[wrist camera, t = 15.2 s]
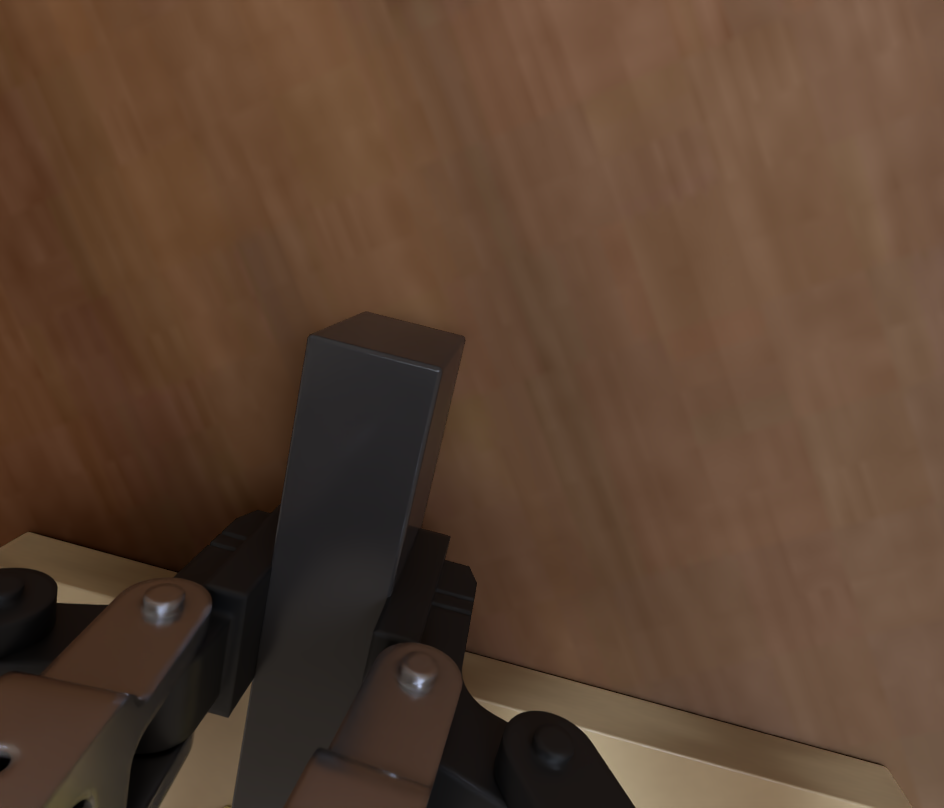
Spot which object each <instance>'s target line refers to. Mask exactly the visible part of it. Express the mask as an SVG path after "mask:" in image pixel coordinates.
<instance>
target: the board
mask: <svg viewBox="0 0 944 808" xmlns="http://www.w3.org/2000/svg"><path fill="white" fill-rule="evenodd" d="M0 568H29V569H34V570H38V571H41V572H44V573H46V574H48V575H49V576H51V577H52V578H53V579H54V580H55V582H56V583H57V587H58V591H57V603H72V604H94V605H109V604H110V603H111V602H112V601H113V600H114V599H115V598H116V597H117V596H118V595H119V594H120V593H121V592H122V591H123V590H125V589H126V588H128V587H130V586H132V585H134V584H136V583H139V582H142V581H145V580H149V579H154V578H165V577H172V578H173V577H174V576H175V575H176V574H177V572H173V571H169V570H166V569H162V568H158V567H155V566H151V565H148V564H144V563H140V562H137V561H133V560H129V559H126V558H122V557H118V556H115V555H111V554H107V553H104V552H100V551H96V550H93V549H89V548H85V547H82V546H78V545H75V544H71V543H67V542H64V541H60V540H56V539H53V538H49V537H45V536H42V535H38V534H34V533H31V532H26V533H25V534H23V535H21V536H20V537H18V538H16V539H14V540H13V541H11V542H9V543H7V544H6V545H4V546H2V547H1V548H0ZM462 676H463V681H464V683H465V686H466V688H467V690H468V691H469V693H470V694H471V695H472V697H473V698H474V699H475V700H476V701H477V702H478V703H479V704H480V705H481V706H483V707H484V708H485V709H486V710H488V711H490V712H491V713H493V714H494V715H496V716H498V717H500V718H501V719H503V720H505V721H507V722H509V721H510V720H511V719H512V718H513V717H514V716H516V715H518V714H520V713H522V712H526V711H545V712H549V713H553V714H556V715H558V716H561V717H563V718H565V719H567V720H568V721H570V722H572V723H573V724H575V725H576V726H577V727H578V728H580V729H581V730H582V731H583V732H584V733H585V734H586V735H587V737H588V738H589V739H590V740H591V742H592V743H593V745H594V746H595V748H596V749H597V751H598V752H599V754H600V755H601V757H602V758H603V760H604V761H605V763H606V764H607V766H608V767H609V769H610V770H611V772H612V773H613V775H614V776H615V778H616V779H617V781H618V782H619V784H620V785H621V786H622V788H623V789H624V791H625V792H626V794H627V795H628V797H629V798H630V800H631V801H632V803H633V804H634V806H635V807H636V808H913V807H912V805H911V804H910V802H909V801H908V799H907V798H906V796H905V795H904V793H903V792H902V790H901V789H900V787H899V786H898V784H897V783H896V781H895V780H894V778H893V777H892V775H891V774H890V772H889V770H888V769H887V768H886V767H885V766H881V765H878V764H874V763H870V762H867V761H863V760H859V759H856V758H852V757H848V756H845V755H841V754H837V753H834V752H830V751H827V750H823V749H819V748H816V747H812V746H808V745H805V744H801V743H797V742H794V741H790V740H786V739H783V738H779V737H775V736H772V735H768V734H764V733H761V732H757V731H754V730H750V729H746V728H743V727H739V726H735V725H732V724H728V723H724V722H721V721H717V720H713V719H710V718H706V717H702V716H699V715H695V714H691V713H688V712H684V711H681V710H677V709H673V708H670V707H666V706H662V705H659V704H655V703H651V702H648V701H644V700H640V699H637V698H633V697H629V696H626V695H622V694H618V693H615V692H611V691H607V690H604V689H600V688H597V687H593V686H589V685H586V684H582V683H578V682H575V681H571V680H567V679H564V678H560V677H556V676H553V675H549V674H545V673H542V672H538V671H534V670H531V669H527V668H524V667H520V666H516V665H513V664H509V663H505V662H502V661H498V660H494V659H491V658H487V657H483V656H480V655H476V654H472V653H469V652H465V655H464V660H463V666H462ZM251 683H252V682H251ZM251 683H250V685H249V686H248V688H247V690H246V691H245V693H244V694H243V696H242V697H241V699H240V700H239V702H238V704H237V705H236V707H235V708H234V710H233V711H232V713H231V714H230V716H229V718H226V717H223V716H219V715H216V714H212V713H208V712H207V714H206V715H205V717H204V718H203V720H202V721H201V722H200V724H199V725H198V727H197V728H196V730H195V734H194V741H193V746H192V749H191V751H190V753H189V755H188V757H187V759H186V760H185V762H184V764H183V766H182V768H181V769H180V771H179V773H178V775H177V777H176V778H175V780H174V782H173V784H172V786H171V787H170V789H169V791H168V793H167V795H166V796H165V798H164V800H163V802H162V803H161V805H160V807H159V808H224V807H225V806H230V807H232V800H233V794H234V788H235V782H236V776H237V770H238V764H239V757H240V751H241V745H242V739H243V733H244V727H245V720H246V714H247V708H248V702H249V696H250V690H251Z"/></svg>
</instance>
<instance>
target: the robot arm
mask: <svg viewBox="0 0 944 808" xmlns="http://www.w3.org/2000/svg"><path fill="white" fill-rule="evenodd" d="M280 505H281V503H280V504H279V505H278V507H277V508H276V509H275V510H274V511H273V512H272V513H268V512H264V511H260V510H256V511H254V512H251V513H249V514H246V515H244V516H241V517H239V518H236V519H235V520H234V521H233V522H232V523H231V524H230V525H229V526H228V527H227V528H225V529H224V530H223V531H222V534H219V535H218V536H217V537H216V538H215V539H214V540H213V541H212V542H211V544H210V545H207V546H206V547H205V548H204V549H203V550H202V551H201V552H200V553H199V554H198V555H197V556H195V557H194V558H193V559H192V560H191V561H190V562H189V563H188V564H187V565H186V566H185V567H184V568H183V569H182V570H180V571H179V572H178V573H177V574H176V575H175V576H174V577H173V578H172V577H165V578H154V579H149V580H145V581H142V582H139V583H136V584H134V585H132V586H130V587H128V588H126V589H125V590H123V591H122V592H121V593H120V594H119V595H118V596H117V597H116V598H115V599H114V600H113V601H112V602H111V603H110V604H109V605H94V604H72V603H57V591H58V587H57V583H56V582H55V580H54V579H53V578H52V577H51V576H49V575H48V574H46V573H44V572H41V571H38V570H34V569H29V568H0V808H159V807H160V805H161V803H162V802H163V800H164V798H165V796H166V795H167V793H168V791H169V789H170V787H171V786H172V784H173V782H174V780H175V778H176V777H177V775H178V773H179V771H180V769H181V768H182V766H183V764H184V762H185V760H186V759H187V757H188V755H189V753H190V751H191V749H192V746H193V741H194V734H195V730H196V728H197V727H198V725H199V724H200V722H201V721H202V720H203V718H204V717H205V715H206V714H207V712H208V713H212V714H216V715H219V716H223V717H226V718H229V716H230V714H231V713H232V711H233V710H234V708H235V707H236V705H237V704H238V702H239V700H240V699H241V697H242V696H243V694H244V693H245V691H246V690H247V688H248V686H249V685H250V683H251V682H252V680H253V679H254V674H255V668H256V662H257V656H258V650H259V644H260V638H261V632H262V626H263V620H264V614H265V607H266V601H267V595H268V589H269V583H270V577H271V571H272V565H271V560H272V554H273V548H274V542H275V536H276V530H277V523H278V517H279V511H280ZM449 541H450V536H448V535H444V534H440V533H436V532H433V531H429V530H425V529H421V528H419V530H418V533H417V535H416V538H415V540H414V542H413V545H412V547H411V550H410V552H409V555H408V557H407V560H406V562H405V565H404V567H403V570H402V572H401V575H400V577H399V579H398V582H397V584H396V587H395V589H394V592H393V594H392V596H390V597H387V600H386V602H385V604H384V607H383V609H382V612H381V614H380V616H379V619H378V621H377V624H376V626H375V628H374V631H373V635H372V639H371V644H370V648H369V652H368V657H367V661H366V666H365V670H364V675H363V679H362V684H361V687H360V689H359V691H358V693H357V695H356V696H355V698H354V700H353V702H352V704H351V706H350V708H349V710H348V712H347V714H346V715H345V717H344V719H343V721H342V723H341V725H340V727H339V729H338V731H337V732H336V734H335V736H334V738H333V740H332V742H331V744H330V746H329V747H328V749H325V748H322V747H319V748H318V749H317V750H316V751H315V752H314V753H313V755H312V756H311V758H310V760H309V761H308V763H307V765H306V767H305V769H304V770H303V772H302V774H301V776H300V778H299V779H298V781H297V783H296V785H295V787H294V788H293V790H292V792H291V794H290V796H289V798H288V799H287V801H286V803H285V805H284V807H283V808H636V807H635V806H634V804H633V803H632V801H631V800H630V798H629V797H628V795H627V794H626V792H625V791H624V789H623V788H622V786H621V785H620V784H619V782H618V781H617V779H616V778H615V776H614V775H613V773H612V772H611V770H610V769H609V767H608V766H607V764H606V763H605V761H604V760H603V758H602V757H601V755H600V754H599V752H598V751H597V749H596V748H595V746H594V745H593V743H592V742H591V740H590V739H589V738H588V737H587V735H586V734H585V733H584V732H583V731H582V730H581V729H580V728H578V727H577V726H576V725H575V724H573V723H572V722H570V721H568V720H567V719H565V718H563V717H561V716H558V715H556V714H553V713H549V712H545V711H526V712H522V713H520V714H518V715H516V716H514V717H513V718H512V719H511V720H510V721H509V722H507V721H505V720H503V719H501V718H500V717H498V716H496V715H494V714H493V713H491V712H490V711H488V710H486V709H485V708H484V707H483V706H481V705H480V704H479V703H478V702H477V701H476V700H475V699H474V698H473V697H472V695H471V694H470V693H469V691H468V690H467V688H466V686H465V683H464V681H463V676H462V666H463V660H464V655H465V649H466V643H467V637H468V632H469V626H470V620H471V614H472V609H473V602H474V597H475V592H476V586H477V582H476V580H475V578H474V576H473V573H472V571H471V569H470V567H469V566H466V565H462V564H458V563H454V562H451V561H447V560H445V557H446V553H447V549H448V545H449Z"/></svg>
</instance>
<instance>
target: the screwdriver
mask: <svg viewBox="0 0 944 808" xmlns="http://www.w3.org/2000/svg"><path fill="white" fill-rule="evenodd" d="M464 344H465V337H464V336H462V335H458V334H454V333H450V332H446V331H442V330H438V329H434V328H430V327H426V326H422V325H418V324H414V323H410V322H406V321H402V320H398V319H394V318H390V317H386V316H383V315H379V314H375V313H371V312H367V311H366V312H362V313H360V314H357V315H355V316H353V317H350V318H348V319H346V320H343V321H341V322H339V323H336V324H334V325H331V326H329V327H327V328H324V329H322V330H320V331H317V332H315V333H312V334H310V335H309V337H308V339H307V345H306V351H305V357H304V363H303V369H302V376H301V382H300V388H299V394H298V400H297V406H296V413H295V419H294V425H293V431H292V437H291V443H290V450H289V456H288V462H287V468H286V474H285V480H284V486H283V493H282V499H281V505H280V511H279V517H278V523H277V530H276V536H275V542H274V548H273V554H272V560H271V565H272V571H271V577H270V583H269V589H268V595H267V601H266V607H265V614H264V620H263V626H262V632H261V638H260V644H259V650H258V656H257V662H256V668H255V674H254V679H253V680H252V683H251V690H250V696H249V702H248V708H247V714H246V720H245V727H244V733H243V739H242V745H241V751H240V757H239V764H238V770H237V776H236V782H235V788H234V794H233V800H232V807H231V808H283V807H284V805H285V803H286V801H287V799H288V798H289V796H290V794H291V792H292V790H293V788H294V787H295V785H296V783H297V781H298V779H299V778H300V776H301V774H302V772H303V770H304V769H305V767H306V765H307V763H308V761H309V760H310V758H311V756H312V755H313V753H314V752H315V751H316V750H317V749H318V748H319V747H322V748H325V749H328V747H329V746H330V744H331V742H332V740H333V738H334V736H335V734H336V732H337V731H338V729H339V727H340V725H341V723H342V721H343V719H344V717H345V715H346V714H347V712H348V710H349V708H350V706H351V704H352V702H353V700H354V698H355V696H356V695H357V693H358V691H359V689H360V687H361V684H362V679H363V675H364V670H365V666H366V661H367V657H368V652H369V648H370V644H371V639H372V635H373V631H374V628H375V626H376V624H377V621H378V619H379V616H380V614H381V612H382V609H383V607H384V604H385V602H386V600H387V597H390V596H392V594H393V592H394V589H395V587H396V584H397V582H398V579H399V577H400V575H401V572H402V570H403V567H404V565H405V562H406V560H407V557H408V555H409V552H410V550H411V547H412V545H413V542H414V540H415V538H416V535H417V533H418V530H419V528H421V527H422V523H423V518H424V514H425V510H426V506H427V501H428V497H429V493H430V489H431V484H432V480H433V476H434V472H435V467H436V463H437V459H438V455H439V450H440V446H441V442H442V438H443V433H444V429H445V425H446V421H447V416H448V412H449V408H450V404H451V399H452V395H453V391H454V387H455V382H456V378H457V374H458V370H459V365H460V361H461V357H462V353H463V348H464Z"/></svg>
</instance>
